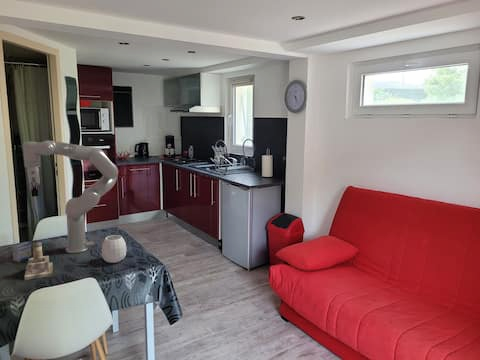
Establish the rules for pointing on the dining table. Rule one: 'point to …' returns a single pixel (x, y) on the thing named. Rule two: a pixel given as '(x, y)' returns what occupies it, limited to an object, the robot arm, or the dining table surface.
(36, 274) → the socket stand
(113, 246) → the white faceted vase
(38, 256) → the peg
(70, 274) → the dining table surface
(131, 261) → the dining table surface
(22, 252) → the medicine box
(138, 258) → the dining table surface
